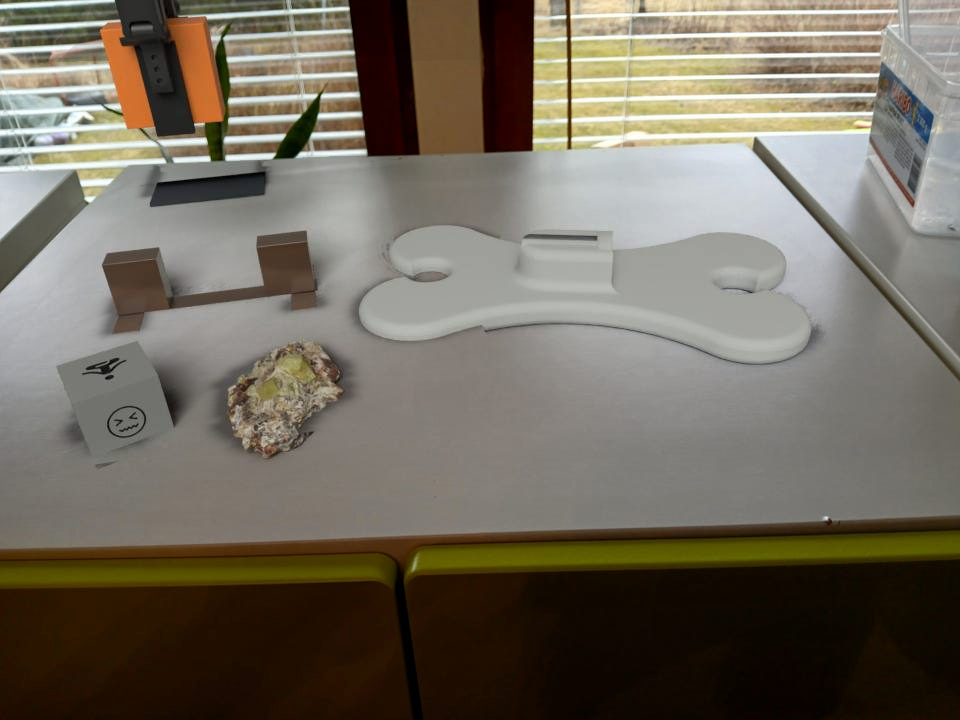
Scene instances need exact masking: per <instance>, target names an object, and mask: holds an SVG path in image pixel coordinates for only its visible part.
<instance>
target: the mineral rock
mask: <svg viewBox="0 0 960 720" xmlns="http://www.w3.org/2000/svg"><path fill="white" fill-rule="evenodd" d="M340 378H341V372H340V369H339V368H338V366H337V365H336V363H335V361H334V359H331V358H330V356H329V355H328V354H327V353H326V352H325V350H323V348H322V347H321V346H320V345H319V343H317V341H315V340H304V339H301V340H300V341H299V342H297V341H289V342H287V344H286V345H284V346H279V347H276V348H271V350H270V353H268V354H265V355H264V356H262V357H260V358H259V359H258V360H257V361H256V362H255V363H254V364H253V369H252V371H251V373H250V374H248V375H247V374H245V373H243V374H241V375H240V376H239V377H237V379H236V383H235V384H232V385H230V386H229V387H228V388H226V390H227V391H228V393H227V400H228V401H227V407H229V409H228V411H227V413H226V414H227V418H228V419H229V420H230V422H231V428H232V431H234V432H233V433H232V435H233V437H237V438H241V440H242V442H241V444H242V446H243V447H244V451H247V452H249V453H250V454H251V453H255V452H259V453H260V454H261V457H262V458H263V459H265V460H268V459H270V458H272V457H273V456H274V455H275V454H277V453H278V452H282V451H283V452H286V451H291V450H293V449H295V448H296V447H299V446H301V445H302V444H304V443H303V442H304V441H305V439H307V438H309V437H311V435H312V434H314V430H312V431H306V432H299V431H300V428H301V426H303V423H305V420H307V419H308V418H309V417H312V415H313V413H317V412H321V411H322V410H323V409H325V407H326V406H327V403H331V402H338V401H340V400H341V399H342V394H343V393H344V392H345V391H344V390H343V388H341V387H339V386H338V385H337V384H336V382H337V381H338V380H340Z"/></svg>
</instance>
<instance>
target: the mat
mask: <svg viewBox="0 0 960 720" xmlns="http://www.w3.org/2000/svg"><path fill="white" fill-rule="evenodd" d="M265 187H266V170H265V171H255V172H245V173H237V174H226V175H215V176H206V177H196V178H188V179H187V178H186V179H178V180H177V179H176V180H169V181H157V182H156V185H155V188H154V189H153V193H152V195H151V199H150V201H149V206H150V207H161V206H170V205H179V204H188V203H189V204H191V203H198V202H210V201H217V200H225V199H226V200H227V199H233V198H234V199H236V198H237V199H238V198H246V197H255V196H264V195H265V191H266V190H265V189H266V188H265Z"/></svg>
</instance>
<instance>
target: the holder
mask: <svg viewBox="0 0 960 720" xmlns="http://www.w3.org/2000/svg"><path fill="white" fill-rule="evenodd" d="M613 238H614V231H613V230H589V229H588V230H587V229H585V230H583V229H582V230H581V229H540V230H535V231H532V232H529V233H527V234H526V235H524V236H523V237H522V240H521V243H518V242H515V241H510V240H506V239H501V238H499V237H495V236H491V235H488V234H486V233H482V232H480V231H478V230H475V229H472V228H469V227H465V226H461V225H451V224H438V225H429V226H421V227H418V228H415V229H411V230H409V231H406V232H405V233H403V234H401V235H400V236H398V237H397V238H396V239H394V241H393V242H392V243H391V245H390V247H389V249H388V261H389V263H390V265H391V266H392V267H393V268H394V269H395V270H396V271H398V272H400V273H401V274H404V275H408V276H411V277H414V276H416V275H417V274H421V273H426V272H438V273H442V274H445V276H447V277H445V278H442V279H440V280H436V281H417V280H413V279H410V278H409V277H408V276H400V277H394V278H392V279H389V280H386V281H383V282H382V283H380V284H378V285H376V286H374V287H372V288H371V289H370V290H369V291H368V292H367V293H366V294H365V295H364V296H363V297H362V299H361V301H360V304H359V307H358V315H359V320H360V323H361V325H362V326H363V327H364V328H365V329H366V330H367V331H369V332H370V333H372V334H374V335H376V336H379V337H381V338H384V339H388V340H394V341H402V342H403V341H404V342H418V341H426V340H432V339H437V338H441V337H445V336H448V335H450V334H454V333H457V332H460V331H464V330H467V329H471V328H475V327H480V326H481V327H482V328H483V331H484V332H487V331H492V330H497V329H502V328H504V329H505V328H511V327H519V326H528V325H545V324H576V325H577V324H578V325H590V326H591V325H593V326H602V327H603V326H604V327H609V328H610V327H611V328H618V329H619V328H620V329H624V330H631V331H636V332H640V333H645V334H649V335H653V336H657V337H661V338H665V339H668V340H671V341H675V342H678V343H681V344H684V345H687V346H689V347H692V348H695V349H698V350H700V351H703V352H705V353H708V354H710V355H711V356H714V357H717V358H720V359H723V360H727V361H731V362H736V363H741V364H751V365H764V364H774V363H778V362H783V361H786V360H788V359H789V360H790V359H791V358H793V357H795V356H796V355H798V354H800V353H801V352H802V351H803V350H804V349H805V348H806V346H807V345H808V343H809V341H810V337H811V333H812V328H813V327H812V320H811V318H810V315H809V314H808V313H807V310H805V308H804V307H803V306H802V305H800V304H799V303H798V302H796V301H795V300H793V299H792V298H790V297H788V296H786V295H784V294H782V293H779V292H777V291H773V290H772V289H774V288H775V287H777V286H778V285H779V284H780V283H781V282H782V281H783V279H784V277H785V274H786V271H787V259H786V256H785V255H784V253H783V252H782V251H781V249H779V248H778V247H777V246H776V245H774V244H773V243H772V242H769V241H768V240H765V239H763V238H760V237H757V236H753V235H749V234H746V233H745V234H744V233H739V232H728V231H727V232H726V231H722V232H721V231H717V232H707V233H702V234H698V235H694V236H691V237H688V238H684V239H681V240H677V241H673V242H667V243H662V244H658V245H651V246H644V247H636V248H623V249H613V240H614V239H613ZM725 289H738V290H743V291H744V290H745V291H746V293H741V292H740V293H739V292H733V291H728V290H725ZM747 291H748V292H749V293H747Z"/></svg>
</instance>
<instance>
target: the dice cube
mask: <svg viewBox="0 0 960 720" xmlns="http://www.w3.org/2000/svg"><path fill="white" fill-rule="evenodd" d="M55 367H56V370H57V372H58V375H59V378H60V380H61V382H62V386H63V387H64V390H65V393H66V395H67V398H68V400H69V403H70V406H71V407H72V408H71V409H72V410H73V413H74V415H75V418H76V420H77V424H78V426H79V428H80V431H81V433H82V435H83V438H84V440H85V443H86V446H87V448H88V451H89V453H90V456H91V458H95V457H98V456H100V455H103V454H106V453H109V452H112V451H114V450H117V449H119V448H123V447H125V446H128V445H131V444H133V443H136V442H139V441H142V440H145V439H147V438H150V437H152V436H155V435H158V434H161V433H163V432H166V431H169V430H171V429H174V428H175V426H174V422H173V419H172V415H171V413H170V410H169V407H168V403H167V400H166V397H165V394H164V391H163V387H162V384H161V382H160V377H159V375H158V373H157V371H156V369H155V367H154V366H153V364H152V363H151V361H150V359H149V358H148V356H147V354H146V352H145V351H144V349H143V347H142V346H141V345H140V343H139V341H138V340H135V341H132V342H129V343H125V344H123V345H119V346H116V347H112V348H109V349H106V350H103V351H100V352H97V353H93V354H90V355H87V356H84V357H81V358H80V357H79V358H77V359H74V360H71V361H70V360H69V361H67V362H64V363H61V364H58V365H56V366H55ZM117 462H118V460H117V461H110V462H103V463H97V464H94V465H95V469H96V470H98V469H101V468H104V467H106V466H109V465H112V464H115V463H117Z"/></svg>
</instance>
